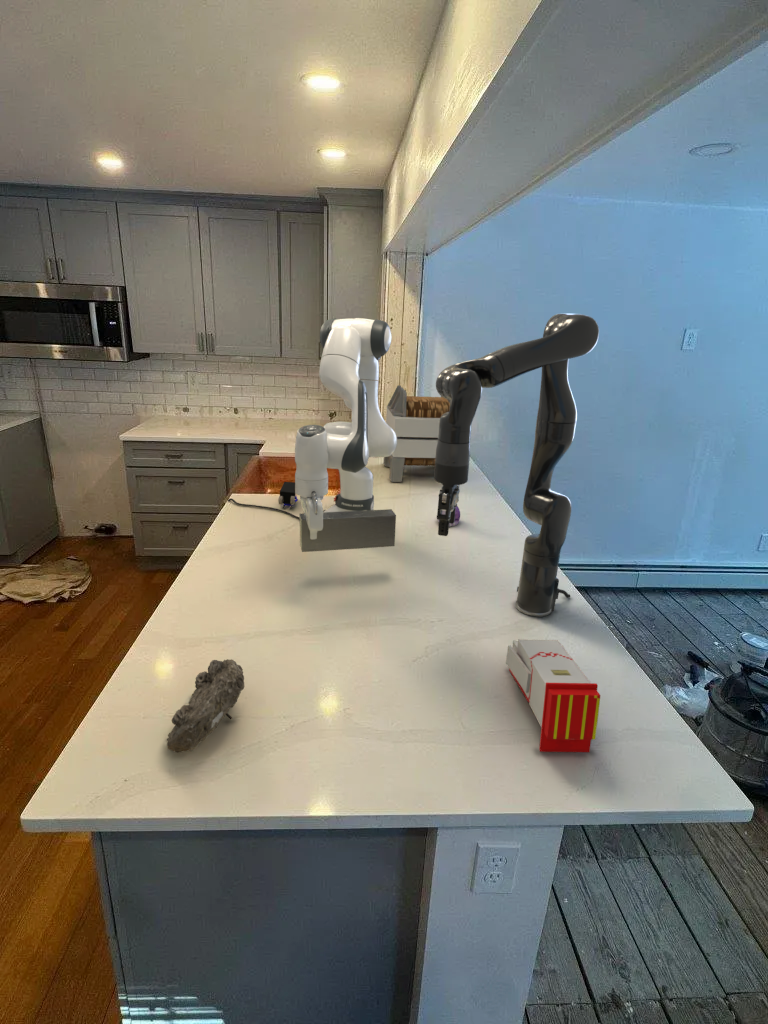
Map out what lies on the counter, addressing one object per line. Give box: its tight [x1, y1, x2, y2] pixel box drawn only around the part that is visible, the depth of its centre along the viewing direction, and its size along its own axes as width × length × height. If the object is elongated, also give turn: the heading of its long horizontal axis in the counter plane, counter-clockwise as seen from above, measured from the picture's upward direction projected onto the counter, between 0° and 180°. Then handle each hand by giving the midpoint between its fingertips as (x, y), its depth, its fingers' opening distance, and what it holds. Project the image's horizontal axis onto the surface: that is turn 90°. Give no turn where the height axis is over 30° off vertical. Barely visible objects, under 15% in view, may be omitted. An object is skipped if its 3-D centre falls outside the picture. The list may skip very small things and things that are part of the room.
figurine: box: [437, 505, 461, 528], centre depth 209 cm, size 9×10×15 cm
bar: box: [298, 508, 397, 553], centre depth 160 cm, size 26×5×10 cm, turn 104°
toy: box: [505, 638, 602, 753], centre depth 114 cm, size 12×13×30 cm
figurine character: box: [278, 481, 299, 510], centre depth 223 cm, size 7×8×15 cm
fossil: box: [166, 658, 245, 754], centre depth 106 cm, size 22×10×15 cm
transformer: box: [383, 384, 452, 483], centre depth 268 cm, size 34×33×41 cm
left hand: (311, 533), depth 157 cm, fingers closed on bar, 5 cm apart
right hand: (446, 528), depth 131 cm, fingers open, 8 cm apart
